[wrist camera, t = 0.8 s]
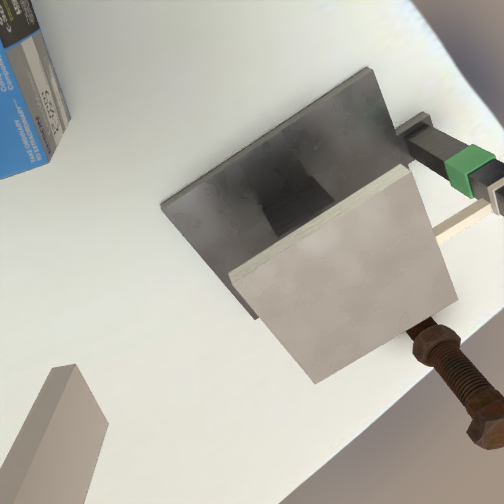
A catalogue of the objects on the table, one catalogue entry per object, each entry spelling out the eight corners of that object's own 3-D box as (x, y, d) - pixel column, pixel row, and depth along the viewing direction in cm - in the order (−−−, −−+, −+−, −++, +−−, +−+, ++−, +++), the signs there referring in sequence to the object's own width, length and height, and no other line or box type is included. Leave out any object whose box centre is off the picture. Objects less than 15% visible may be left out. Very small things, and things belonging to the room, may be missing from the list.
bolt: (395, 343, 51) (481, 459, 39) (384, 316, 48) (473, 434, 36) (440, 319, 51) (539, 429, 39) (431, 291, 48) (537, 401, 36)
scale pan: (213, 229, 31) (232, 284, 26) (409, 101, 29) (475, 131, 24) (287, 324, 38) (315, 384, 32) (450, 224, 36) (508, 270, 31)
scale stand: (160, 204, 35) (182, 345, 22) (401, 44, 33) (586, 93, 20) (252, 313, 43) (307, 461, 30) (447, 192, 41) (598, 294, 28)
